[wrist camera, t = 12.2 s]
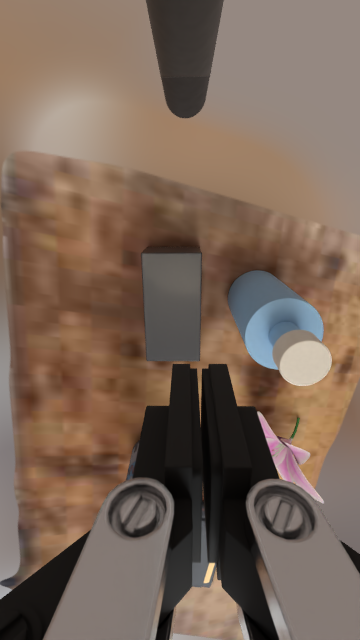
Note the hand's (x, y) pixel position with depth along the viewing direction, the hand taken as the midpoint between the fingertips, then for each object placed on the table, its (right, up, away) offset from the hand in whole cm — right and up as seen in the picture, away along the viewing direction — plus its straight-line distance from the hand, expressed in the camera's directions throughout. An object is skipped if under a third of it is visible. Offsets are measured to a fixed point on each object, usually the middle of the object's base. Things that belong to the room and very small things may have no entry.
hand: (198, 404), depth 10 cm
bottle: (+4, +5, +26) cm, 27 cm away
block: (-1, +5, +27) cm, 28 cm away
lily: (+12, -12, +34) cm, 38 cm away
